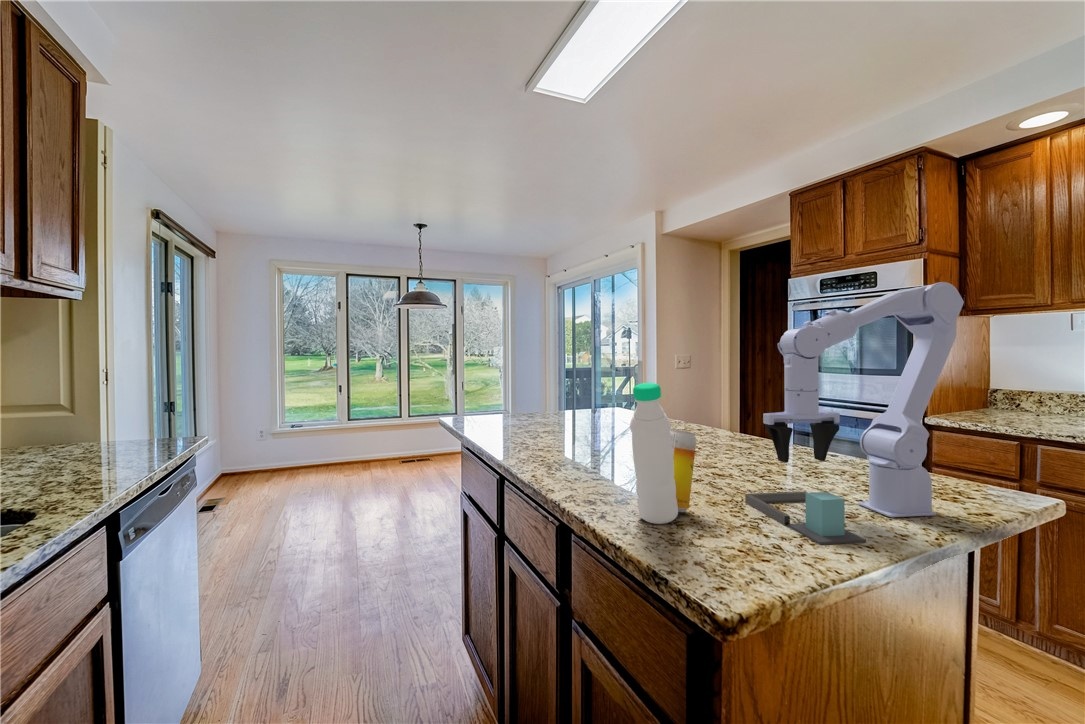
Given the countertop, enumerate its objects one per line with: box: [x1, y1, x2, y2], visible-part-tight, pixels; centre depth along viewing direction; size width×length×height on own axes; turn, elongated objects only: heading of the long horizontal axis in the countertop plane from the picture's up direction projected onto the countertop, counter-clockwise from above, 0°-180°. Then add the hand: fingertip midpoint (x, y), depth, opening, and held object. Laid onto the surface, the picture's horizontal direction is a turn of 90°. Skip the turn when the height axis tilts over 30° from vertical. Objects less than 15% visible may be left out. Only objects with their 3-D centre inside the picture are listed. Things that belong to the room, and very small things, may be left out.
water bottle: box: [629, 382, 679, 525], centre depth 83 cm, size 7×7×25 cm
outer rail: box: [744, 491, 809, 527], centre depth 89 cm, size 14×14×2 cm
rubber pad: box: [787, 522, 867, 545], centre depth 78 cm, size 8×8×1 cm
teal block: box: [805, 491, 846, 536], centre depth 78 cm, size 4×4×6 cm
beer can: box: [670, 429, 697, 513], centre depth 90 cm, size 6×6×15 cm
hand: (801, 460), depth 88 cm, fingers open, 7 cm apart
